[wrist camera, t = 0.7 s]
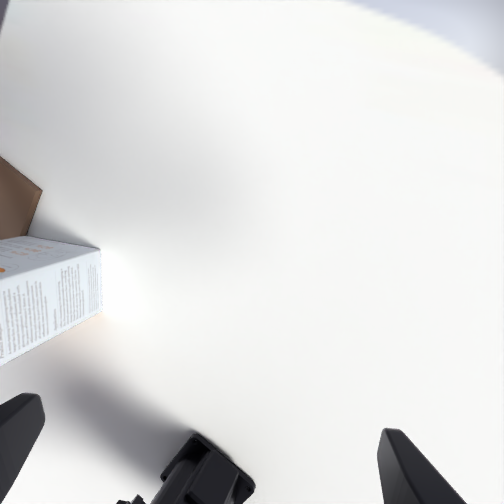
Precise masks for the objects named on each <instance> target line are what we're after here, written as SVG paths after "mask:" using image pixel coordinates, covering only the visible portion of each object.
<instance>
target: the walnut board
mask: <svg viewBox="0 0 504 504" xmlns="http://www.w3.org/2000/svg"><path fill="white" fill-rule="evenodd" d="M41 193H42V190H41V189H40V188H39V187H37V186H36V185H35V184H34V183H32V182H31V181H30V180H29V179H27V178H26V177H25V176H24V175H23V174H21V173H20V172H19V171H18V170H16V169H15V168H14V167H13V166H11V165H10V164H9V163H8V162H6V161H5V160H4V159H3V158H2V157H0V240H4V239H10V238H15V237H20V236H26V234H27V231H28V228H29V226H30V223H31V220H32V218H33V215H34V212H35V209H36V207H37V204H38V201H39V199H40V196H41Z"/></svg>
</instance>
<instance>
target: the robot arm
mask: <svg viewBox="0 0 504 504" xmlns="http://www.w3.org/2000/svg"><path fill="white" fill-rule="evenodd" d="M44 423H45V413H44V409H43V405H42V401H41V397H40V396H39V395H38V394H33V393H22V394H20V395H18V396H16V397H14V398H12V399H10V400H9V401H7V402H5V403H3V404H1V405H0V504H1V503H2V501H3V500H4V498H5V496H6V495H7V493H8V492H9V490H10V488H11V487H12V485H13V483H14V481H15V479H16V478H17V476H18V474H19V472H20V470H21V468H22V466H23V464H24V462H25V461H26V459H27V457H28V455H29V453H30V451H31V449H32V447H33V445H34V443H35V441H36V439H37V438H38V436H39V434H40V432H41V430H42V428H43V426H44ZM195 440H196V441H195ZM377 461H378V467H379V474H380V480H381V486H382V493H383V499H384V504H467V503H466V502H465V501H464V500H463V499H462V498H461V497H460V496H459V494H458V493H457V492H456V491H455V490H454V489H453V488H452V487H451V485H450V484H449V483H448V482H447V481H446V480H445V479H444V478H443V476H442V475H441V474H440V473H439V472H438V471H437V470H436V469H435V467H434V466H433V465H432V464H431V463H430V462H429V461H428V460H427V458H426V457H425V456H424V455H423V454H422V453H421V452H420V451H419V449H418V448H417V447H416V446H415V445H414V444H413V443H412V442H411V440H410V439H409V438H408V437H407V436H406V435H405V434H404V433H403V432H402V431H401V430H399V429H392V428H384V429H383V431H382V434H381V438H380V442H379V447H378V451H377ZM161 480H162V481H163V482H164V484H163V485H162V487H161V488H160V490H159V491H158V493H157V494H156V496H155V497H154V499H153V500H152V502H151V503H150V504H243V503H244V502H245V501H246V500H247V499H248V498H249V497H250V496H251V495H252V494H253V493H254V490H255V488H256V485H255V483H254V482H253V481H252V480H251V479H250V478H249V477H247V476H246V475H245V474H244V473H243V472H242V471H241V470H239V469H238V468H237V467H236V466H235V465H234V464H232V463H231V462H230V461H229V460H228V459H227V458H225V457H224V456H223V455H222V454H221V453H220V452H218V451H217V450H216V449H215V448H214V447H213V446H212V445H210V444H209V443H208V442H207V441H206V440H205V439H203V438H202V437H201V436H200V435H198V434H193V435H192V436H191V438H190V439H189V440H188V441H187V443H186V444H185V445H184V446H183V448H182V449H181V450H180V451H179V452H178V454H177V455H176V456H175V457H174V459H173V460H172V461H171V462H170V464H169V465H168V466H167V467H166V469H165V470H164V471H163V473H162V474H161ZM248 486H249V487H248ZM116 504H146V503H145V502H144V501H143V498H142V497H141V496H139V495H138V494H137V496H136V497H135V498H134V499H133V500H132V501H131V503H130V502H129V501H128V502H127V501H122V500H119V501H118V502H117V503H116Z"/></svg>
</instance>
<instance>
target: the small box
mask: <svg viewBox="0 0 504 504" xmlns="http://www.w3.org/2000/svg"><path fill="white" fill-rule="evenodd" d="M101 311H102V281H101V250H100V249H96V248H90V247H84V246H79V245H73V244H68V243H63V242H57V241H52V240H46V239H40V238H35V237H30V236H20V237H15V238H10V239H4V240H0V366H2V365H4V364H5V363H7V362H9V361H11V360H13V359H15V358H17V357H18V356H20V355H22V354H24V353H26V352H28V351H30V350H31V349H33V348H35V347H37V346H39V345H41V344H42V343H44V342H46V341H48V340H50V339H52V338H53V337H55V336H57V335H59V334H61V333H63V332H65V331H66V330H68V329H70V328H72V327H74V326H76V325H78V324H79V323H81V322H83V321H85V320H87V319H89V318H90V317H92V316H94V315H96V314H98V313H100V312H101Z"/></svg>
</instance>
